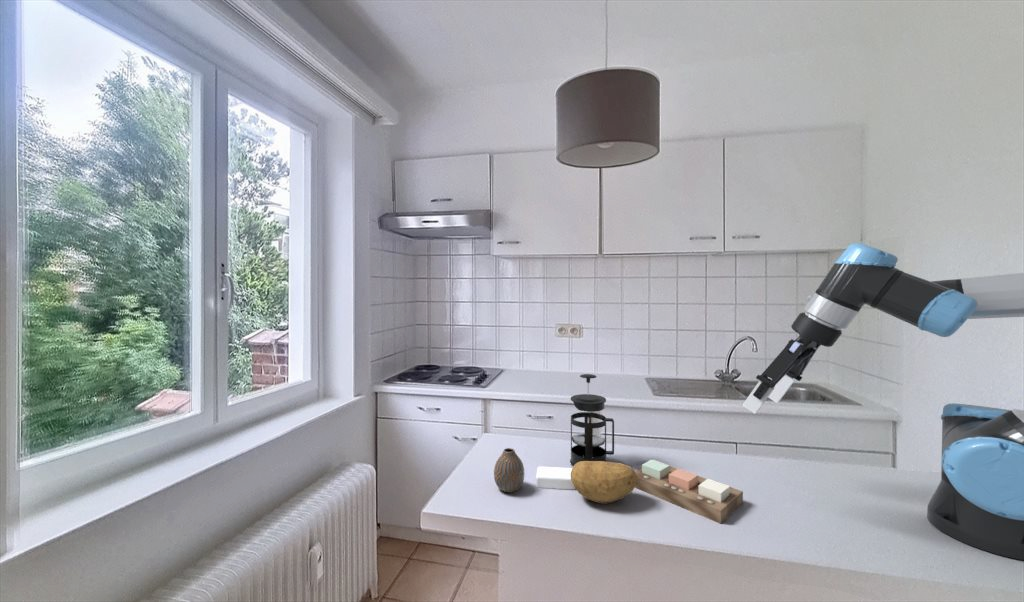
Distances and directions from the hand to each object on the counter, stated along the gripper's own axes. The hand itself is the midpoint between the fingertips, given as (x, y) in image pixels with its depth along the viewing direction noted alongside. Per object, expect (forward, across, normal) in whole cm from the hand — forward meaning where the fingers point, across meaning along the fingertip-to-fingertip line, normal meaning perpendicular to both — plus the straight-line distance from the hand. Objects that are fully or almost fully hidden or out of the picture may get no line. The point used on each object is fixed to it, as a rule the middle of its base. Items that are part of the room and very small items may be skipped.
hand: (760, 404), depth 86 cm
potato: (+28, +26, -8) cm, 40 cm away
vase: (+37, +38, -23) cm, 58 cm away
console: (+23, +11, 0) cm, 26 cm away
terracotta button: (+22, +11, 0) cm, 25 cm away
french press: (+35, +14, -20) cm, 42 cm away
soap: (+35, +29, -18) cm, 49 cm away
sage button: (+25, +11, -6) cm, 28 cm away
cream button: (+19, +11, +5) cm, 23 cm away
